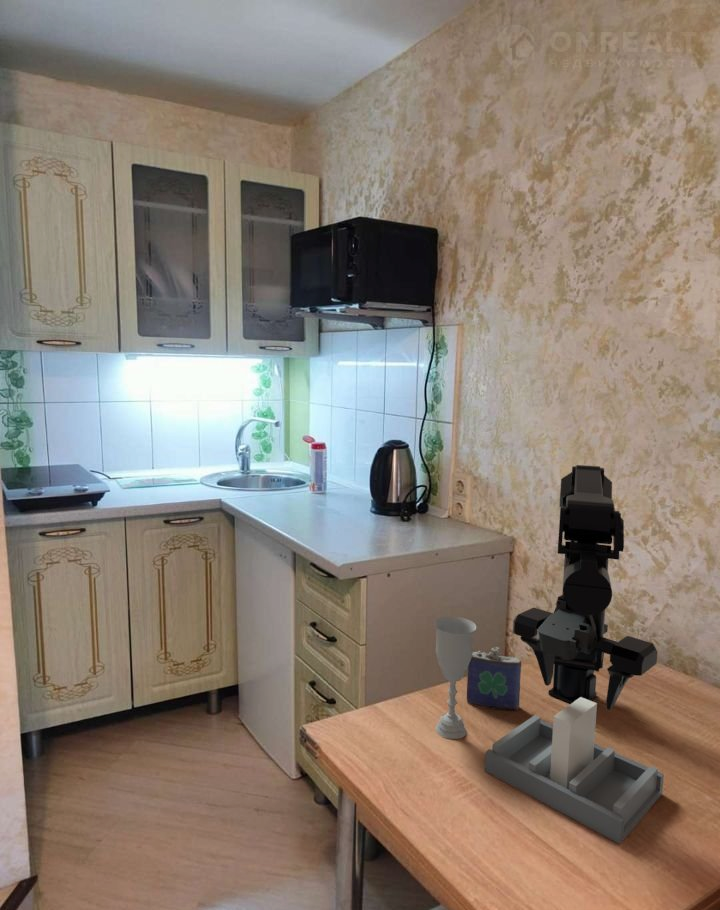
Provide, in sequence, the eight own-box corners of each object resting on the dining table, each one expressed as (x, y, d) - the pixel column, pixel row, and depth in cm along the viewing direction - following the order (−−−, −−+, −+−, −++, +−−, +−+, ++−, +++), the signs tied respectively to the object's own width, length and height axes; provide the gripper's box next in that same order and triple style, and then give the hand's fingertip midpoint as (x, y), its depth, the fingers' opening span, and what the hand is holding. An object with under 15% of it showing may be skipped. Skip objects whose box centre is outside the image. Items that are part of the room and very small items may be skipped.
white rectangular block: (549, 783, 87) (553, 716, 86) (576, 760, 93) (580, 696, 92) (566, 792, 86) (570, 723, 84) (592, 767, 91) (597, 703, 90)
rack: (484, 770, 91) (485, 745, 91) (534, 734, 101) (535, 711, 101) (619, 844, 77) (621, 814, 77) (662, 794, 87) (664, 767, 87)
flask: (519, 705, 110) (522, 647, 109) (518, 713, 108) (521, 654, 106) (467, 697, 113) (469, 641, 112) (465, 705, 110) (467, 647, 109)
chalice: (426, 718, 105) (429, 616, 103) (465, 717, 106) (469, 616, 104) (435, 743, 98) (439, 634, 96) (477, 742, 99) (482, 633, 97)
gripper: (494, 585, 87) (489, 691, 89) (627, 624, 74) (618, 747, 76) (535, 570, 95) (530, 667, 97) (662, 602, 82) (654, 714, 83)
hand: (577, 696), depth 88 cm, fingers open, 9 cm apart
